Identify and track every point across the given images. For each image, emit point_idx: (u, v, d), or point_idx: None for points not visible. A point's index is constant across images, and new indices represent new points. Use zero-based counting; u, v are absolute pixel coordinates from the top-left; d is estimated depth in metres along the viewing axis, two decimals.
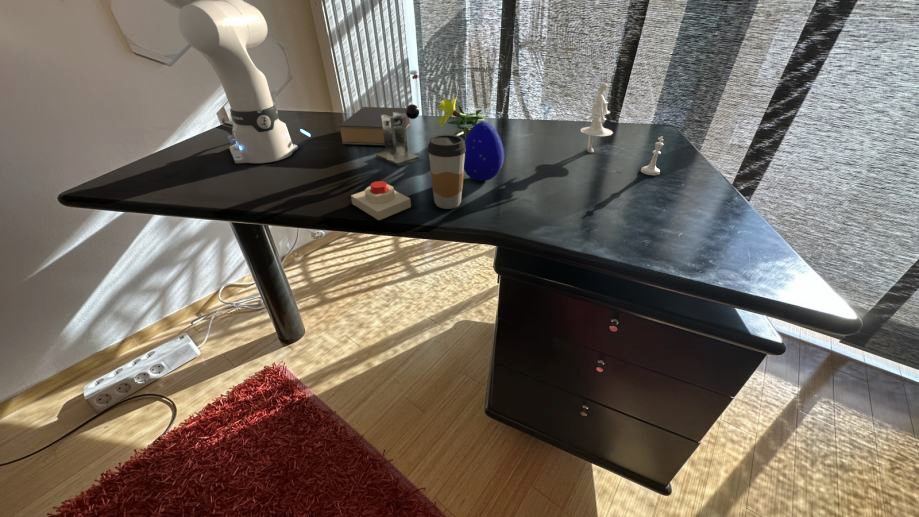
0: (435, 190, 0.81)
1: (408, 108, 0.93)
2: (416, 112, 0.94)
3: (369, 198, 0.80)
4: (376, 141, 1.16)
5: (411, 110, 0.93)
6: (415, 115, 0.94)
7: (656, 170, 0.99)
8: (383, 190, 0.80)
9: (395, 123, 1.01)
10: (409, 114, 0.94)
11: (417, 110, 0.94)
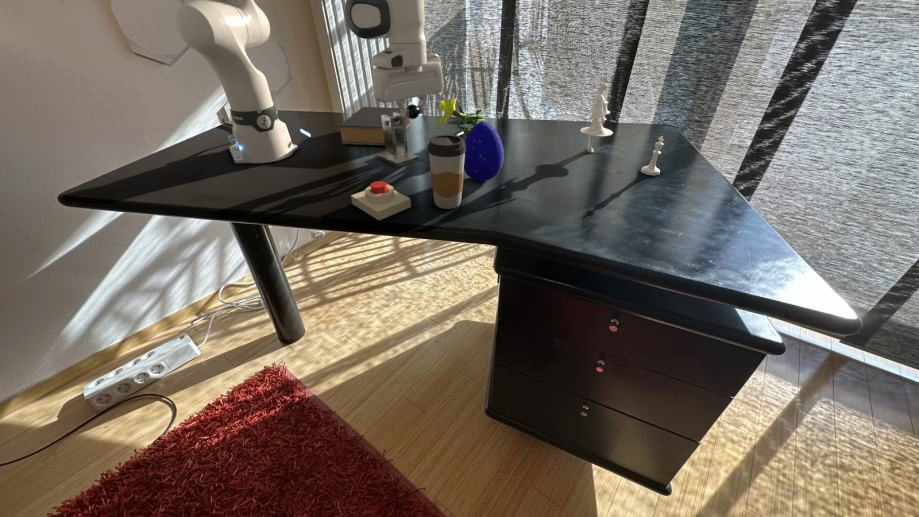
0: (435, 190, 0.81)
1: (408, 108, 0.93)
2: (416, 112, 0.94)
3: (369, 198, 0.80)
4: (376, 141, 1.16)
5: (411, 110, 0.93)
6: (415, 115, 0.94)
7: (656, 170, 0.99)
8: (383, 190, 0.80)
9: (395, 123, 1.01)
10: (409, 114, 0.94)
11: (417, 110, 0.94)
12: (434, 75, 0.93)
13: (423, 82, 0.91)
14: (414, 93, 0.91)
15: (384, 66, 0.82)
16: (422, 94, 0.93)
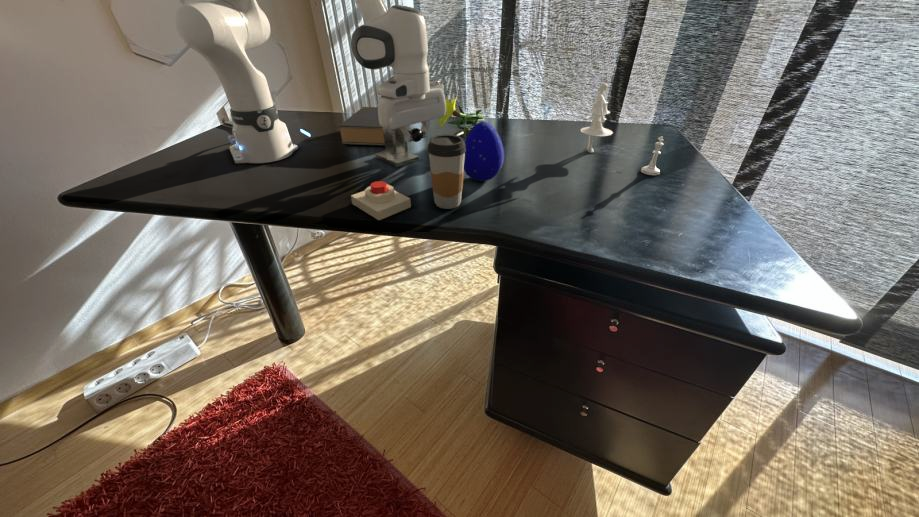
0: (435, 190, 0.81)
1: (413, 133, 0.96)
2: (419, 139, 0.97)
3: (369, 198, 0.80)
4: (376, 141, 1.16)
5: (415, 137, 0.96)
6: (417, 141, 0.98)
7: (656, 170, 0.99)
8: (383, 190, 0.80)
9: None
10: None
11: (421, 137, 0.97)
12: (437, 101, 0.96)
13: (426, 108, 0.94)
14: (417, 119, 0.94)
15: (389, 96, 0.85)
16: (425, 119, 0.96)
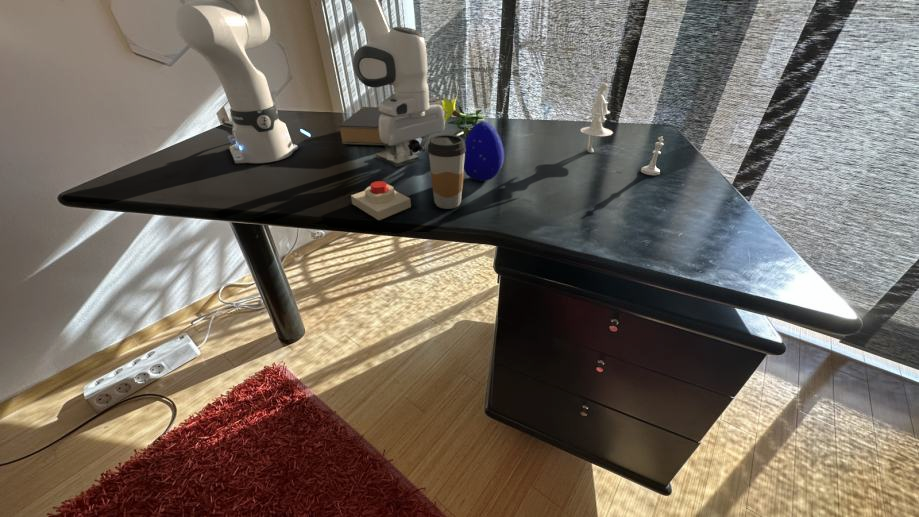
0: (435, 190, 0.81)
1: (412, 146, 0.99)
2: (416, 151, 1.00)
3: (369, 198, 0.80)
4: (376, 141, 1.16)
5: (413, 149, 0.99)
6: (414, 152, 1.01)
7: (656, 170, 0.99)
8: (383, 190, 0.80)
9: None
10: None
11: (418, 150, 1.00)
12: (436, 117, 0.99)
13: (425, 124, 0.97)
14: (417, 134, 0.96)
15: (390, 114, 0.88)
16: (425, 135, 0.99)
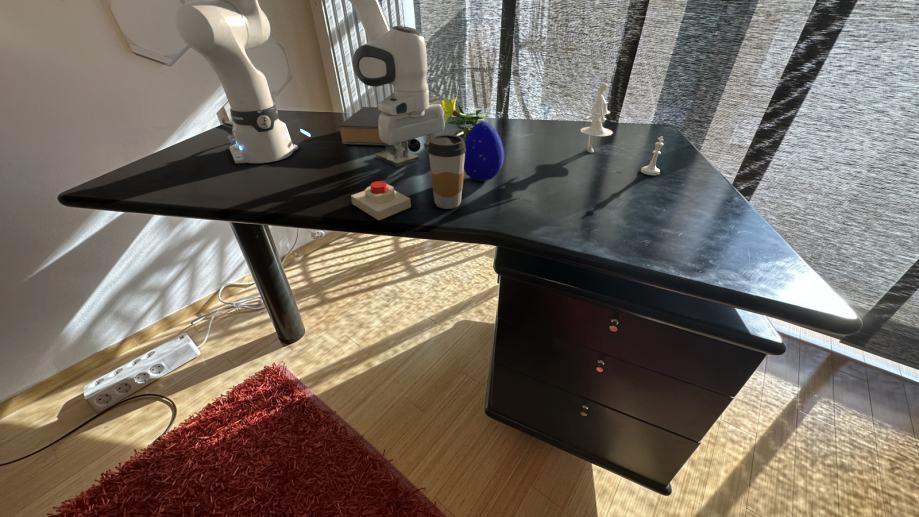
0: (435, 190, 0.81)
1: (412, 145, 0.98)
2: (416, 151, 1.00)
3: (369, 198, 0.80)
4: (376, 141, 1.16)
5: (413, 149, 0.99)
6: (415, 151, 1.01)
7: (656, 170, 0.99)
8: (383, 190, 0.80)
9: None
10: (410, 149, 1.00)
11: (418, 149, 1.00)
12: (436, 116, 0.99)
13: (425, 123, 0.97)
14: (417, 134, 0.96)
15: (389, 113, 0.88)
16: (424, 134, 0.98)
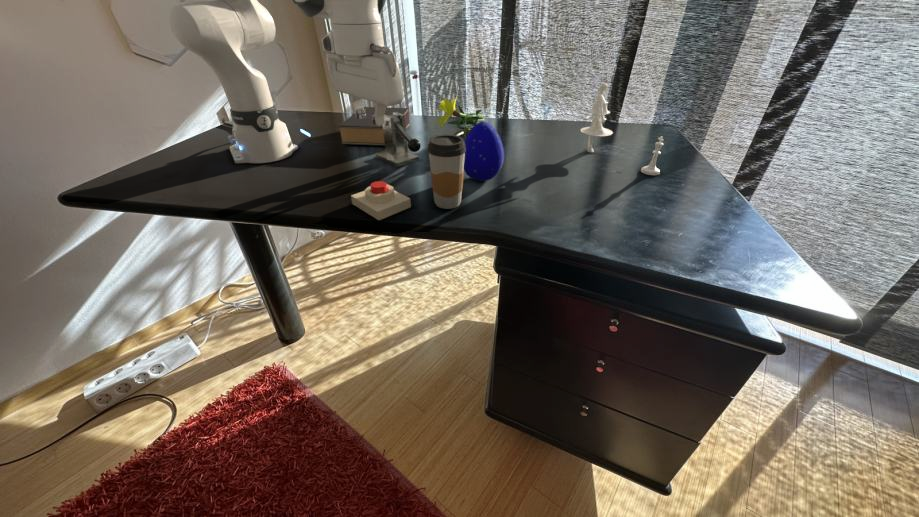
0: (435, 190, 0.81)
1: (412, 145, 0.98)
2: (416, 151, 1.00)
3: (369, 198, 0.80)
4: (376, 141, 1.16)
5: (413, 149, 0.99)
6: (415, 151, 1.01)
7: (656, 170, 0.99)
8: (383, 190, 0.80)
9: (394, 127, 1.02)
10: (410, 149, 1.00)
11: (418, 149, 1.00)
12: (376, 77, 0.63)
13: (363, 81, 0.66)
14: (356, 91, 0.69)
15: None
16: (365, 97, 0.68)
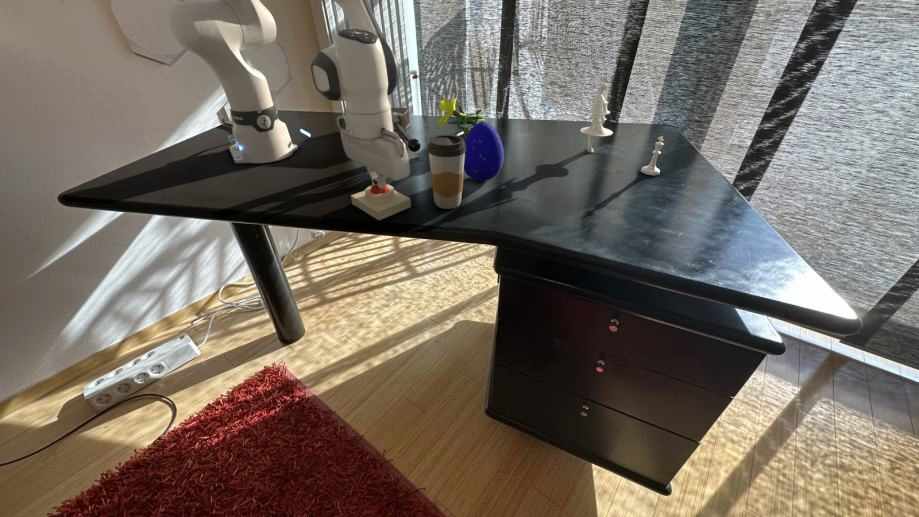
0: (435, 190, 0.81)
1: (412, 145, 0.98)
2: (416, 151, 1.00)
3: (369, 198, 0.80)
4: None
5: (413, 149, 0.99)
6: (415, 151, 1.01)
7: (656, 170, 0.99)
8: (383, 192, 0.81)
9: (394, 127, 1.02)
10: (410, 149, 1.00)
11: (418, 149, 1.00)
12: (386, 157, 0.71)
13: (374, 157, 0.74)
14: (367, 163, 0.77)
15: None
16: (375, 170, 0.76)
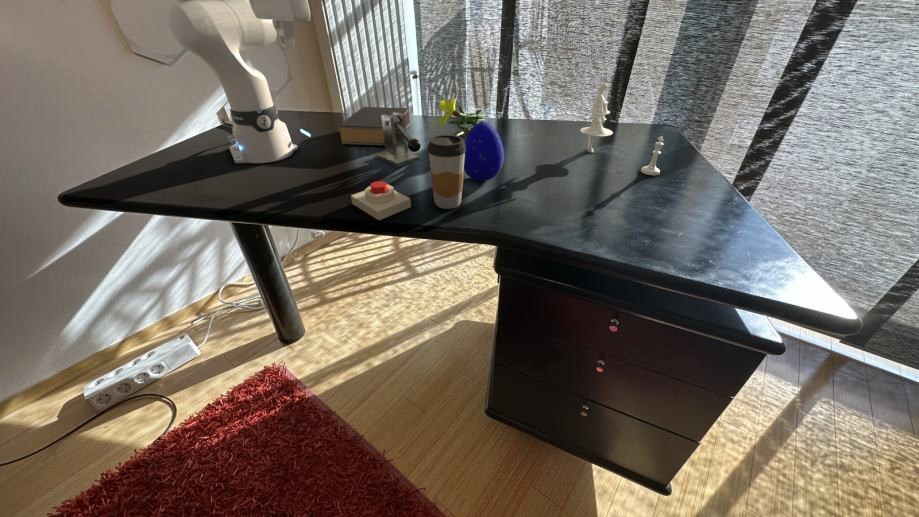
0: (435, 190, 0.81)
1: (412, 145, 0.98)
2: (416, 151, 1.00)
3: (369, 198, 0.80)
4: (375, 141, 1.16)
5: (413, 149, 0.99)
6: (415, 151, 1.01)
7: (656, 170, 0.99)
8: (383, 190, 0.80)
9: (394, 127, 1.02)
10: (410, 149, 1.00)
11: (418, 149, 1.00)
12: None
13: (273, 0, 0.69)
14: (270, 13, 0.72)
15: None
16: (277, 18, 0.71)
